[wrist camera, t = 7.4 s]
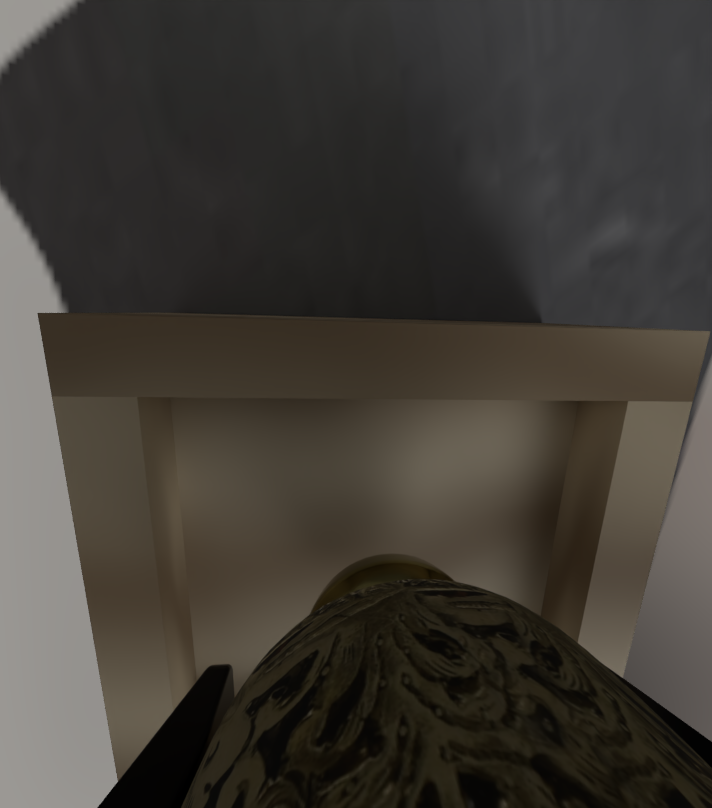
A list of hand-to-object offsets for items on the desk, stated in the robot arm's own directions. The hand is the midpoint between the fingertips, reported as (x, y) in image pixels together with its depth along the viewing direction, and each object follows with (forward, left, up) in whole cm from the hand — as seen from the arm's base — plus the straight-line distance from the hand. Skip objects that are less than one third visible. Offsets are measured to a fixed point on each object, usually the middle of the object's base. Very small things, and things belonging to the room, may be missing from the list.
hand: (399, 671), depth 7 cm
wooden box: (0, 0, -8) cm, 8 cm away
